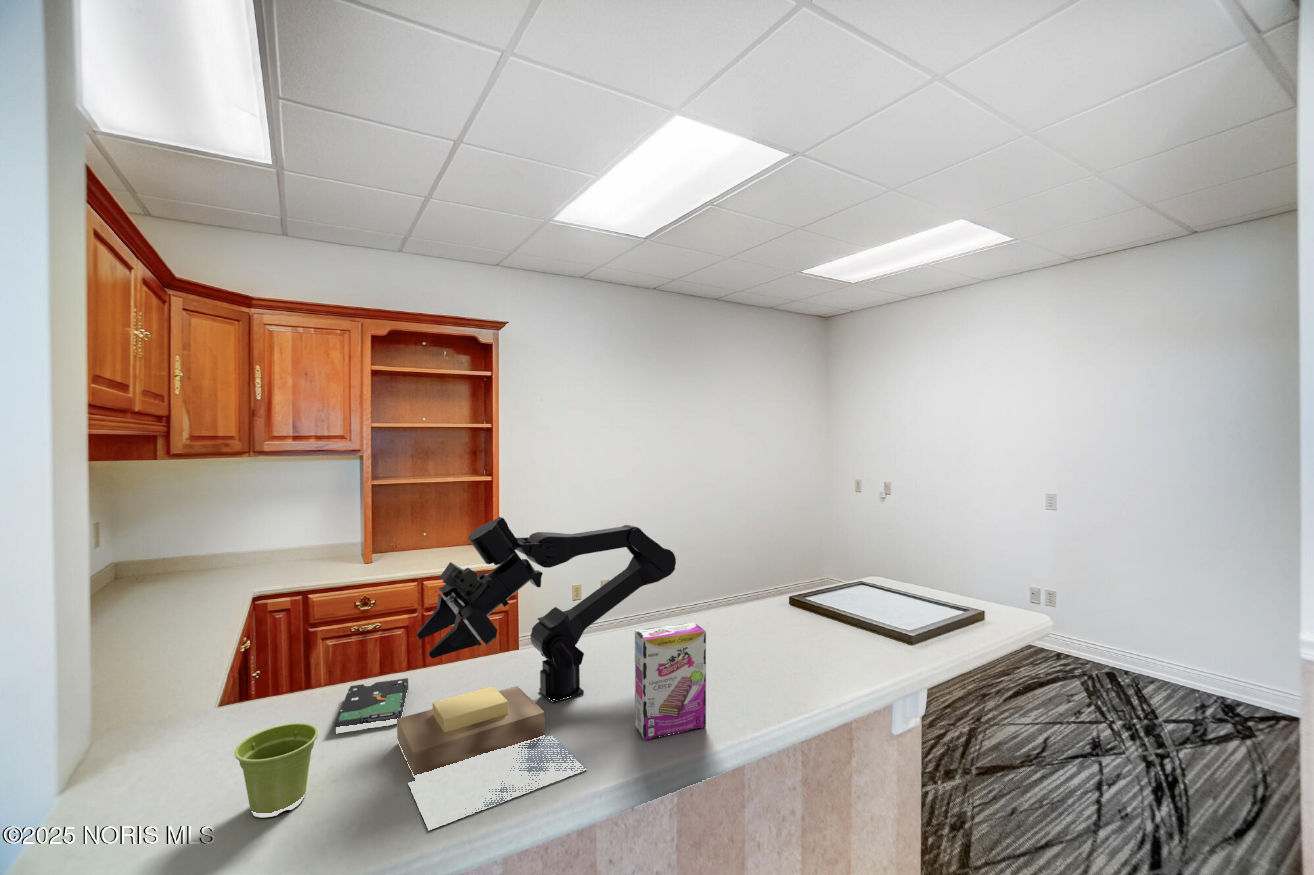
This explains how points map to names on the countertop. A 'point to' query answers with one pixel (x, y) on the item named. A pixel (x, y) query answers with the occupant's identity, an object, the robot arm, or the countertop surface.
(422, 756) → the deck
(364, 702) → the disk drive
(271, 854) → the countertop surface
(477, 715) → the block
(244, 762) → the plant pot
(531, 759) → the mat
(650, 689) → the candy bar box
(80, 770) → the countertop surface
